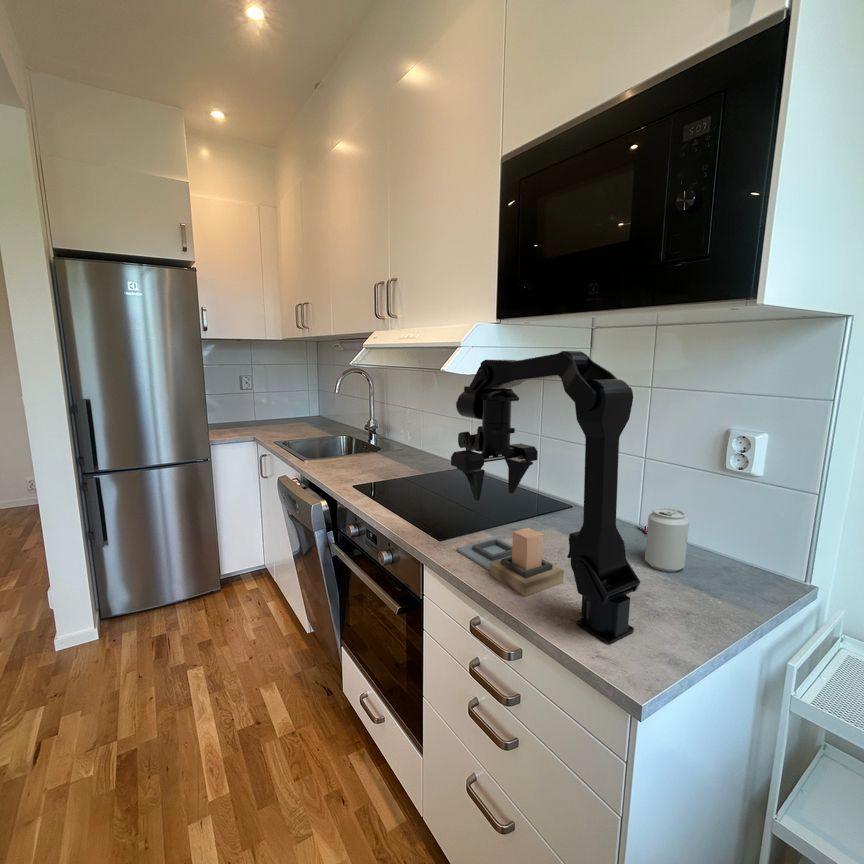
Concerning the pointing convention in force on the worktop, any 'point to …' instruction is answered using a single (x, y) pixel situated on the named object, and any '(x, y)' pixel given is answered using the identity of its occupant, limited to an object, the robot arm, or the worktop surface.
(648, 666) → the worktop surface
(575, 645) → the worktop surface
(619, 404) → the robot arm
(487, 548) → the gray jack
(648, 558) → the can
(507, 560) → the beige square socket
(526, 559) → the plug
